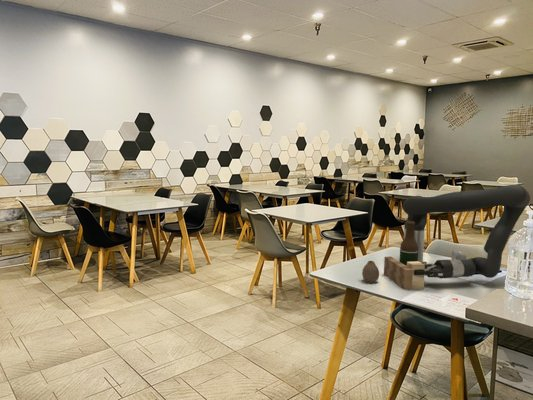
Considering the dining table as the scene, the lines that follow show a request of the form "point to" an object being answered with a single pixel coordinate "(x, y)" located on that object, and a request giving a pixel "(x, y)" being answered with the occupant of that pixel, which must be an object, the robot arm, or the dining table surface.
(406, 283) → the walnut board
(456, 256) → the medicine box
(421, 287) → the maple block
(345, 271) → the dining table surface
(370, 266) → the vase
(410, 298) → the dining table surface
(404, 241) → the beer bottle
